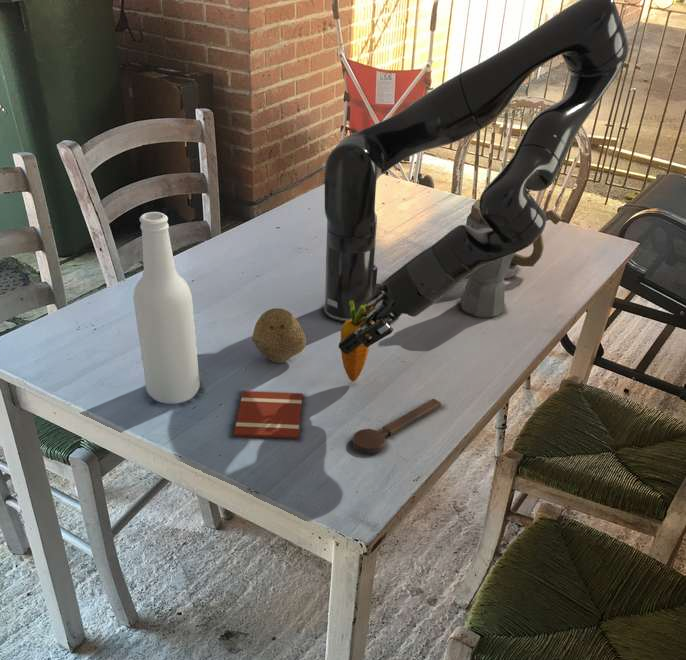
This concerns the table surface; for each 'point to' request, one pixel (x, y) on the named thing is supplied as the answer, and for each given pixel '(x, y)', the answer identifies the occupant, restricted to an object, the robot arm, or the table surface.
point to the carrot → (358, 355)
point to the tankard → (477, 223)
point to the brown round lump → (278, 335)
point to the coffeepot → (486, 288)
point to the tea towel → (269, 415)
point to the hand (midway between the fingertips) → (344, 341)
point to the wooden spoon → (390, 429)
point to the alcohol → (165, 318)
